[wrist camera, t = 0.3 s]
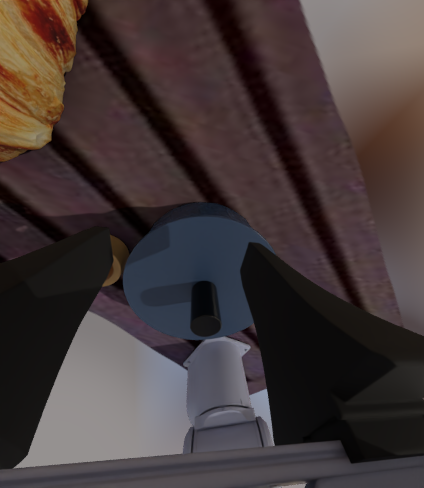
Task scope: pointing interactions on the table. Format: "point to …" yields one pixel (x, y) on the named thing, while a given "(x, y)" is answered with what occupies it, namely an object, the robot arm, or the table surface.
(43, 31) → the croissant
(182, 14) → the table surface
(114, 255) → the ball in tan cup
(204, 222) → the lid
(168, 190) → the table surface
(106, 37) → the table surface
